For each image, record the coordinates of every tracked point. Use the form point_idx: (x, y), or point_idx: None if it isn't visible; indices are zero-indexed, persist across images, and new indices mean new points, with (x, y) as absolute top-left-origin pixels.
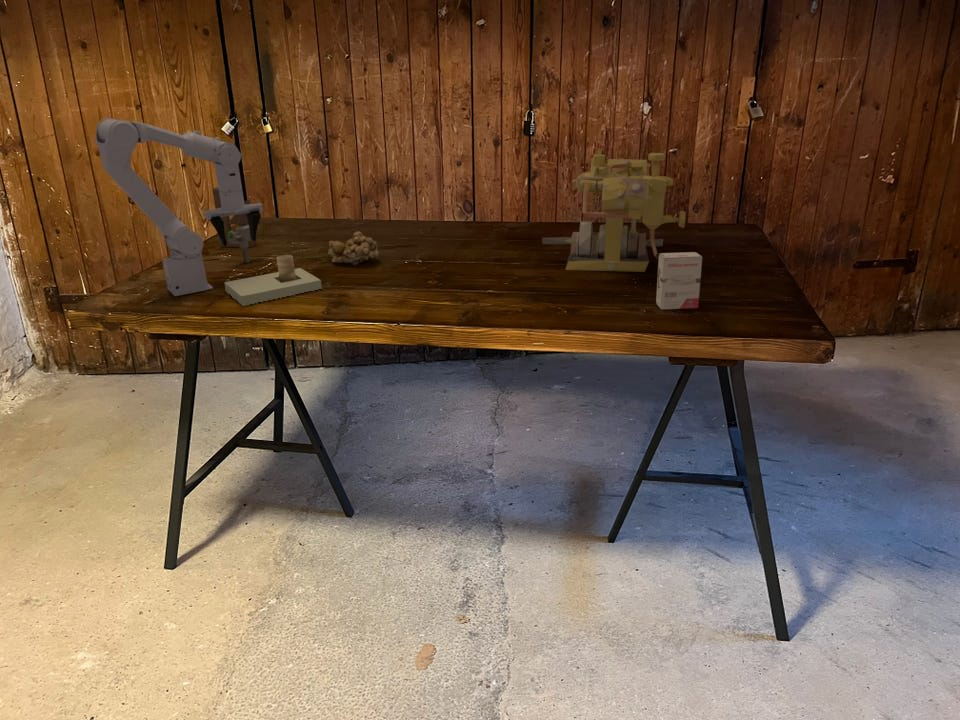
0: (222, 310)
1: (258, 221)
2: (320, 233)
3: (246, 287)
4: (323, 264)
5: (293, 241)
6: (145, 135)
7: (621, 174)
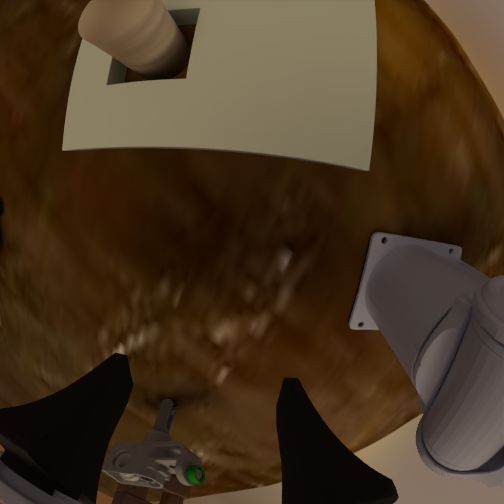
0: (415, 29)
1: (29, 404)
2: None
3: (329, 41)
4: (15, 236)
5: None
6: None
7: None
